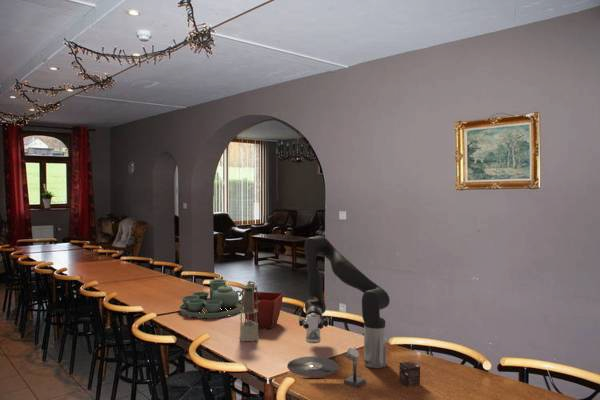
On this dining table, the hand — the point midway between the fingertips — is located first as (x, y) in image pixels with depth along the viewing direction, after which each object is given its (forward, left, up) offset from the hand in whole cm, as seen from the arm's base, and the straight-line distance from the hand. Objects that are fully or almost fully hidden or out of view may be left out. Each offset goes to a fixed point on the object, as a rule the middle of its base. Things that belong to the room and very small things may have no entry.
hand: (313, 326), depth 197 cm
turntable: (0, +2, -18) cm, 18 cm away
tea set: (+67, -90, -18) cm, 114 cm away
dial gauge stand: (-16, +14, -18) cm, 28 cm away
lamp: (+33, -35, -18) cm, 51 cm away
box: (-39, +13, -18) cm, 45 cm away
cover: (0, -2, -7) cm, 7 cm away
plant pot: (+30, -60, -18) cm, 69 cm away
